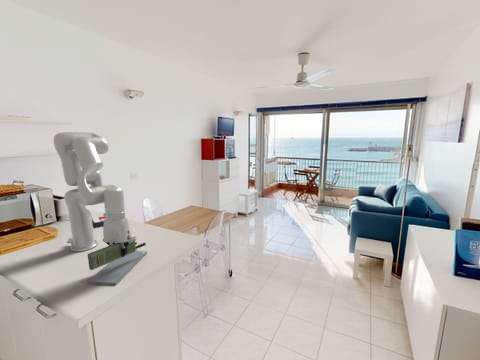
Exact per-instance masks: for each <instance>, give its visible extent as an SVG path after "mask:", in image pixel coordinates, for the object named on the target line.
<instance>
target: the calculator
mask: <svg viewBox="0 0 480 360" xmlns="http://www.w3.org/2000/svg"><path fill="white" fill-rule="evenodd" d="M105 219H106V217H105V216H100V217H92V224H93V229H97V228H101V227H100V226H102V227H103V226H104V220H105ZM96 227H97V228H96Z"/></svg>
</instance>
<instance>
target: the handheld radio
mask: <svg viewBox="0 0 480 360" xmlns="http://www.w3.org/2000/svg"><path fill="white" fill-rule="evenodd" d="M131 237H132V238H133V239H134V241H133V242H131V243H130V244H129V245H128V246H127V254H126V255H128V254H130V253H133V252H135V251H138V249H140V248H142V247H145V246H146V245H147V244H146V242H143V243H141V244H138V242H136V241H137V237H136V236H135V235H134V236H131ZM128 241H129V240H128V239H127V242H128ZM124 244H125V242H124ZM121 248H122V245H121V243H115V244H113V245H110V246H109V245H108V246H106V247H102V248H100V249H97V250H95V251H92V252H88V253H87V260H88V267H89V268H88V269H89V270H90V271H93V270H95V269H98V268H100V267H102V266H106V265H107V264H109V263H110V262H112V261H114V260H117V259H119V258H121V257H122V254H121ZM126 255H125V256H126Z"/></svg>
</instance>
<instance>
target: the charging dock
mask: <svg viewBox="0 0 480 360" xmlns="http://www.w3.org/2000/svg"><path fill="white" fill-rule="evenodd" d="M146 255H148V252H147V250H146V251H145V250H143V251H141V250H140V251H139V250H137V251H135V252H133V253H130V254H128V255H126V256H124V257H121V258H119V259H117V260H114V261H112V262H110V263H107V264H105V265H104V267H103V268H101V269H100V270H99V271H98V272H97V273H95V274H94V275H93V276H92V277H90V278H89V279H88V280H87V282H86V283H87V284H88V285H107V286H108V285H109V286H110V285H112V286H117V285H118V284H119V283H120V282H121V281H122V280H123V279H124V278H125V277H126V276H127V275H128V274H129V273H130V272H131V271H132V269H134V267H135V266H137V265H138V263H140V261H141V260H143V258H144V257H145V256H146Z"/></svg>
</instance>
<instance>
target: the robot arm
mask: <svg viewBox="0 0 480 360" xmlns="http://www.w3.org/2000/svg"><path fill="white" fill-rule="evenodd" d="M53 147H54V148H55V151H56V154H57V155H58V156H59V158H60V161H61V166H62V167H61V168H62V172H63V176H64V181H65V183H66V185H67V186H70V187H77V188H73V189H69V190H68V191H66V193H65V194H64V197H63V198H64V201H65V205H66V207H67V212H68V216H69V222H70V223H69V224H70V231H71V237H68V239H67V241H66V243H67V244H70V246H69V250H70V251H72V252H74V253H75V252H76V253H77V252H84V251H85V252H86V251H88V250H92V249H93V248H96V247H97V246H98V245H99V241H98V240H97V239H95V233H94V227H93V224H92V218H93V217H92V216H93V215H92V213H91V211H90V210H89V209H88V208H86V207H87V206H96V205H100V204H104V213H103V216H102V217H104V216H105V217H106V219H105V220H104V226H102V228H103V230H102V233H103V236H102V237H103V238H102V242H104V243H105V244H106V245H108V246H110V245H113V244H115V243H121V245H122V248H121V254H122V257H124V256H125V255H126V254H127V246H128V245H129V244H130V243H131V242H133V241H134V239H133V238H132V237H133V236H132V235H131V228H130V224H129V223H130V222H129V220H128V218H127V217H126V209H125V208H126V207H125V199H124V198H125V197H124V190H123V188H122V187H118V186H116V185H114V184H106V185H103V179H102V174H101V172H100V170H101V169H102V168H103V167H104V162H103V161H102V158H101V156H100V155H104V154H105V155H106V154H107V153H108V152H109V142H108V141H107V139H105V138H104V137H103V136H101V135H99V134H97V133H94V132H86V131H85V132H83V131H82V132H81V131H80V132H78V131H77V132H76V131H64V132H63V131H62V132H58V133H56V134H55V135H54V137H53ZM127 239H128V240H129V241H128V242H127ZM124 242H125V244H124Z"/></svg>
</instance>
